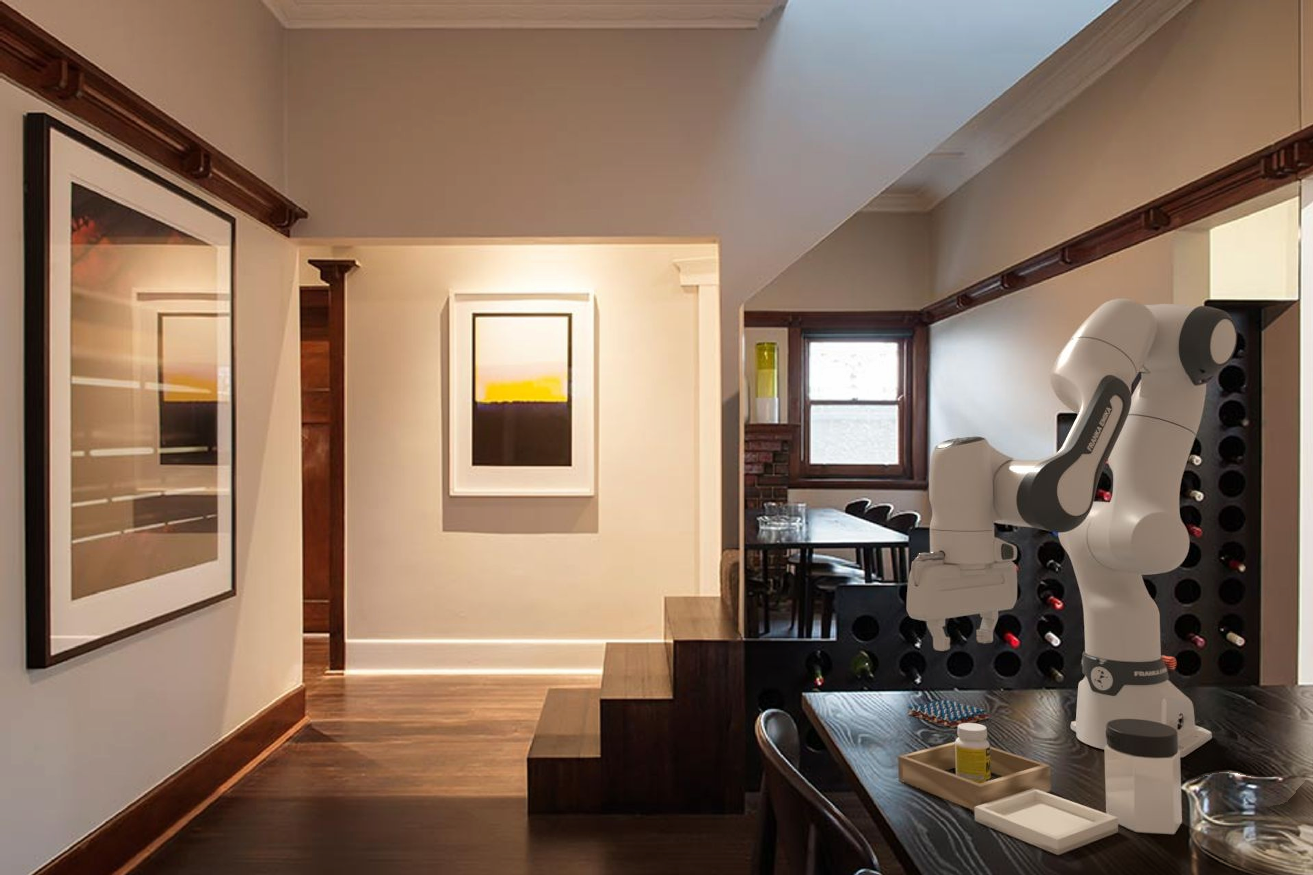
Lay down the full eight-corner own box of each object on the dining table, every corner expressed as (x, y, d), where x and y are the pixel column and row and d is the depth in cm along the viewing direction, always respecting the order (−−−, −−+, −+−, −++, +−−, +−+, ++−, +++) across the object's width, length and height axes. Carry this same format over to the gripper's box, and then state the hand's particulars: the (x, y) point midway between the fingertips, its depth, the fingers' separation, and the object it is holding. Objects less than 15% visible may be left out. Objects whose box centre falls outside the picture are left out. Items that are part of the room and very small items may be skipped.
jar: (1117, 803, 122) (1115, 713, 122) (1186, 818, 116) (1183, 724, 117) (1099, 824, 115) (1097, 729, 115) (1172, 841, 109) (1169, 741, 110)
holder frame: (966, 761, 139) (966, 738, 139) (1050, 790, 126) (1050, 765, 126) (898, 780, 131) (898, 756, 132) (981, 813, 119) (980, 786, 119)
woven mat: (953, 731, 156) (952, 719, 156) (905, 717, 165) (905, 706, 165) (991, 721, 162) (991, 709, 162) (943, 708, 170) (943, 697, 170)
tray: (1034, 801, 123) (1033, 787, 123) (1118, 831, 112) (1117, 817, 112) (974, 820, 116) (974, 806, 117) (1057, 854, 106) (1057, 839, 106)
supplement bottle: (993, 792, 126) (992, 732, 126) (958, 790, 127) (956, 730, 127) (988, 780, 131) (986, 722, 131) (954, 778, 132) (952, 720, 132)
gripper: (930, 555, 121) (932, 658, 121) (1024, 547, 132) (1026, 641, 132) (894, 551, 127) (896, 650, 126) (988, 544, 138) (989, 635, 137)
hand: (963, 646), depth 129 cm, fingers open, 8 cm apart
